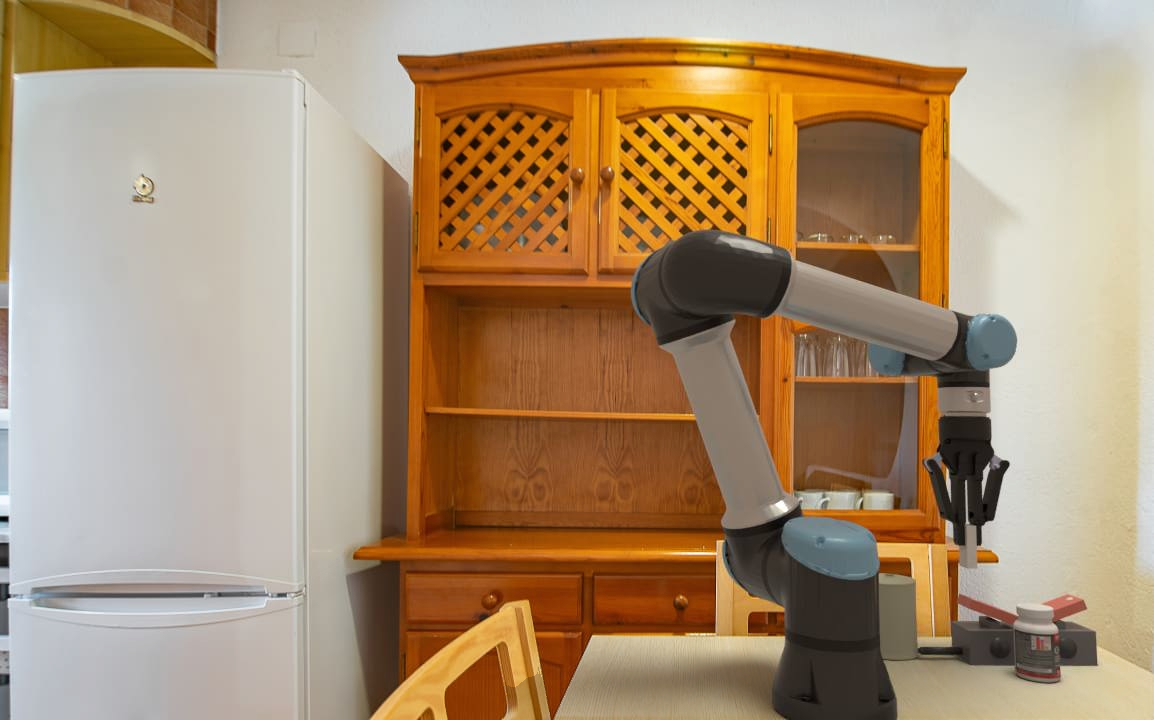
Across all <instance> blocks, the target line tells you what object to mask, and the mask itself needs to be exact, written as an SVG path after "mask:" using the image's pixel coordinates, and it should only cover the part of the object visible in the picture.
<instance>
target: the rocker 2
mask: <svg viewBox="0 0 1154 720" xmlns="http://www.w3.org/2000/svg"><path fill="white" fill-rule="evenodd" d="M1041 604H1042V605H1046V606H1050V607H1052V608H1053V611H1054V617H1053V618H1052V622H1054V621H1057V620H1062V619H1064V618H1067V617H1070V616H1072V615H1075V614H1078V613H1081V612H1084V611H1086V610H1088V607H1087V605H1086V602H1085V600H1084V599H1082V598H1080V597H1077V596H1074V595H1071V594H1069V593H1067V594H1064V595H1061V596H1059V597H1056V598H1053V599H1051V600H1048V601H1045V602H1042V603H1041Z"/></svg>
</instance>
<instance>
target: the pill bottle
mask: <svg viewBox="0 0 1154 720" xmlns="http://www.w3.org/2000/svg"><path fill="white" fill-rule="evenodd" d="M1015 610H1016V614H1017V616H1019V619H1017V620H1016V621H1015V622H1014V624H1013V635H1014V659H1015V665H1014V672H1015V674H1016V675H1017V676H1018V677H1020V678H1022V679H1025V680H1027V681H1031V682H1036V683H1048V684H1050V683H1056V682H1059V681H1060V680H1061V677H1062V676H1061V675H1062V674H1061V665H1060V652H1059V632H1058V628H1057V626H1056V625H1055V624H1054V623H1052V618H1053V617H1054V611H1053V608H1052V607H1050V606H1046V605H1042V603H1033V602H1031V603H1030V602H1027V603H1026V602H1025V603H1024V602H1023V603H1017V604H1016V609H1015Z"/></svg>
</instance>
